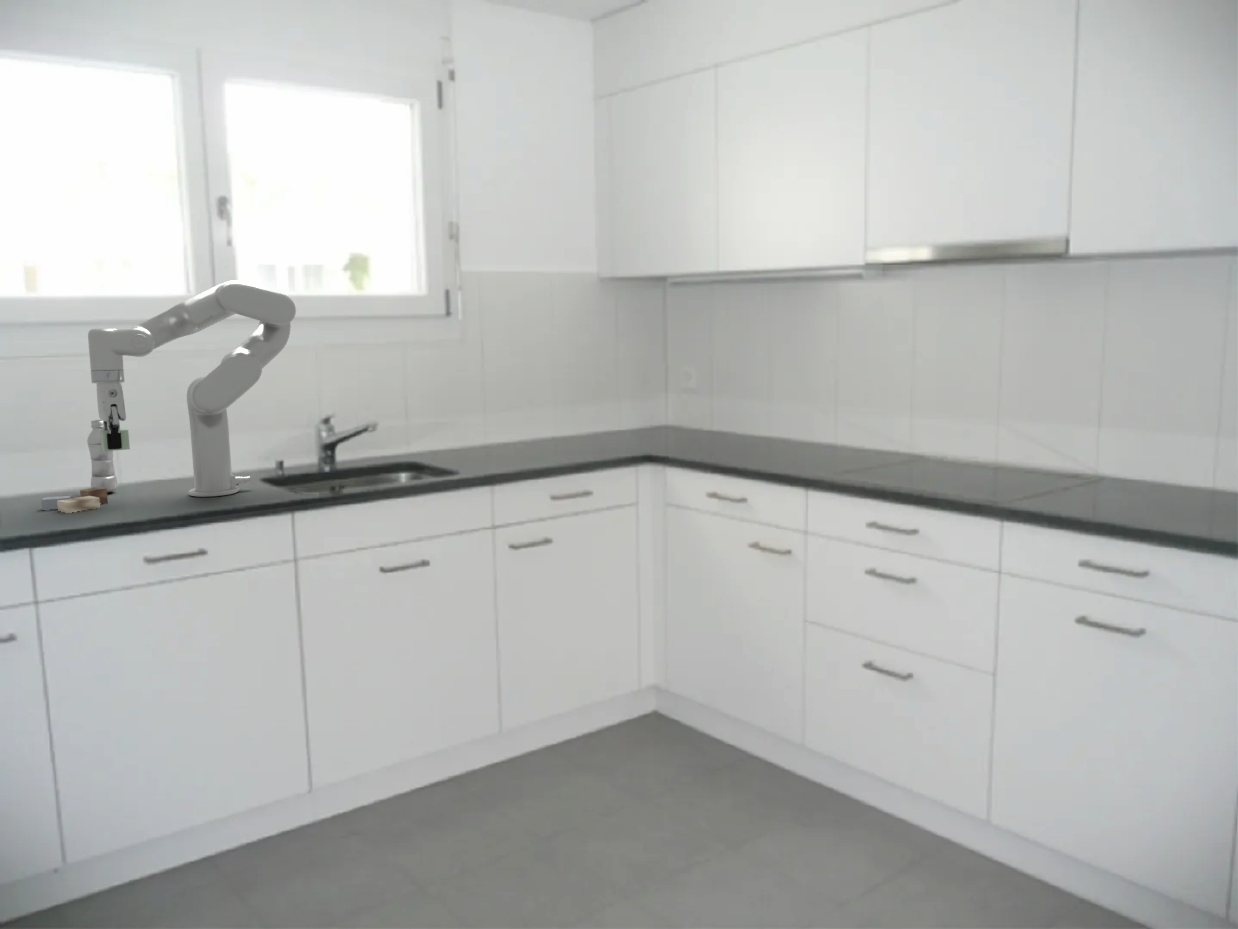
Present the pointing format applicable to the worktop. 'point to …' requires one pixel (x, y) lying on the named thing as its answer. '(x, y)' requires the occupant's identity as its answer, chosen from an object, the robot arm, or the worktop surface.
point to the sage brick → (123, 439)
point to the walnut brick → (95, 493)
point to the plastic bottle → (101, 460)
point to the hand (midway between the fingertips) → (113, 447)
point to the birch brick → (78, 504)
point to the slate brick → (52, 502)
